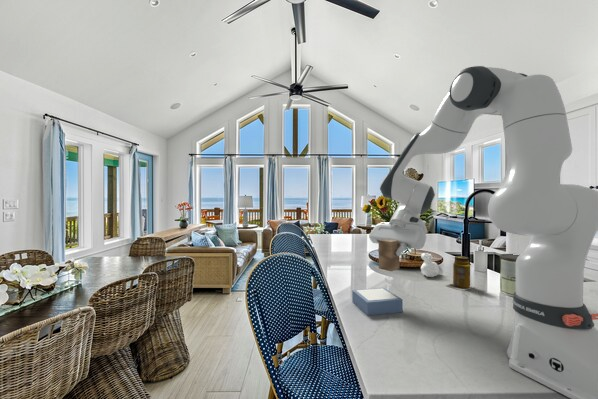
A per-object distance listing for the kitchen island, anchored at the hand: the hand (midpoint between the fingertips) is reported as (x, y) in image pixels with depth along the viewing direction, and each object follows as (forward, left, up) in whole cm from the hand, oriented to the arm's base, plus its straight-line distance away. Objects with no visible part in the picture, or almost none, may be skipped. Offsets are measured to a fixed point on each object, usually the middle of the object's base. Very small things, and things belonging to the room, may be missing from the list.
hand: (387, 253), depth 99 cm
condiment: (+9, -37, -17) cm, 41 cm away
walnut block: (0, -1, -5) cm, 5 cm away
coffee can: (-3, -51, -17) cm, 54 cm away
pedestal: (-3, +6, -17) cm, 18 cm away
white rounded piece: (+27, -36, -17) cm, 48 cm away
